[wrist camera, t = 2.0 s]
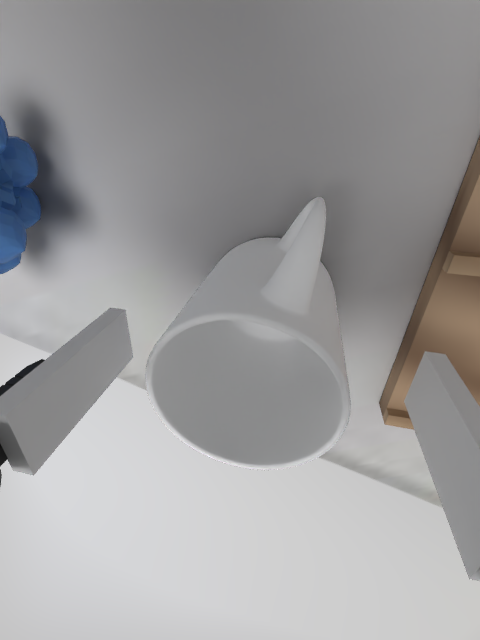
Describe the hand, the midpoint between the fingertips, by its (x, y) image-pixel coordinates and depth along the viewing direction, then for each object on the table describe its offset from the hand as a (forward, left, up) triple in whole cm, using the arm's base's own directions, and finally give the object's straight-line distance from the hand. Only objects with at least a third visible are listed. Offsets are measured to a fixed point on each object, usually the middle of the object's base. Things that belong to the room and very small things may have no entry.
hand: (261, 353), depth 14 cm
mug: (0, 0, -9) cm, 9 cm away
